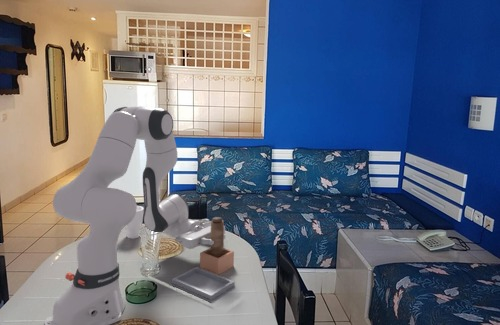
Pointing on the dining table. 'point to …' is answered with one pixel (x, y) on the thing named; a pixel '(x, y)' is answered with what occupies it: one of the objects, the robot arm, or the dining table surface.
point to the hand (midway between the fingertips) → (218, 240)
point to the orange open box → (216, 261)
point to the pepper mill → (217, 236)
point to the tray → (203, 283)
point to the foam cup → (135, 223)
